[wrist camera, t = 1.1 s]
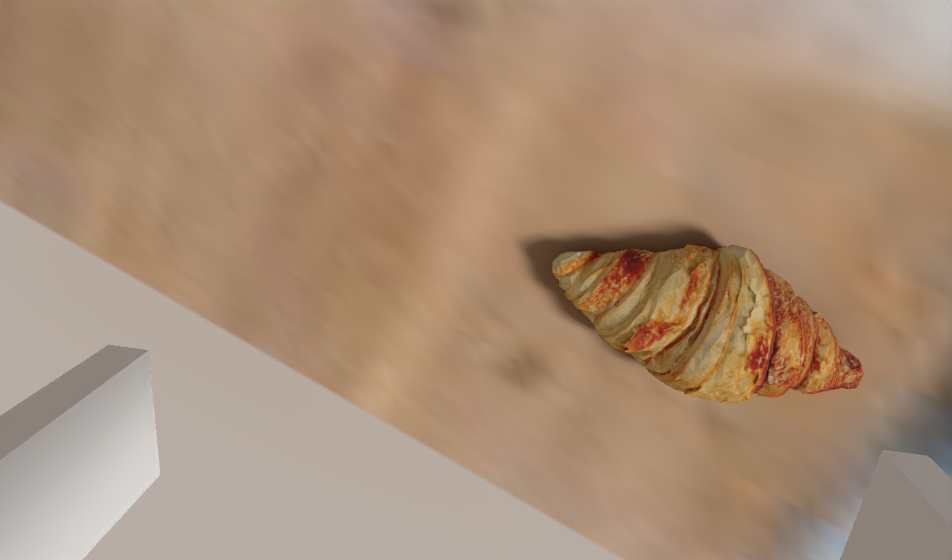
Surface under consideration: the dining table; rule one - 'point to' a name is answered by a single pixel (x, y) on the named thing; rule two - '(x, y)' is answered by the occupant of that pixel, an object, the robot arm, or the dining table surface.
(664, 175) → the dining table surface
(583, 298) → the croissant
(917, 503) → the robot arm
